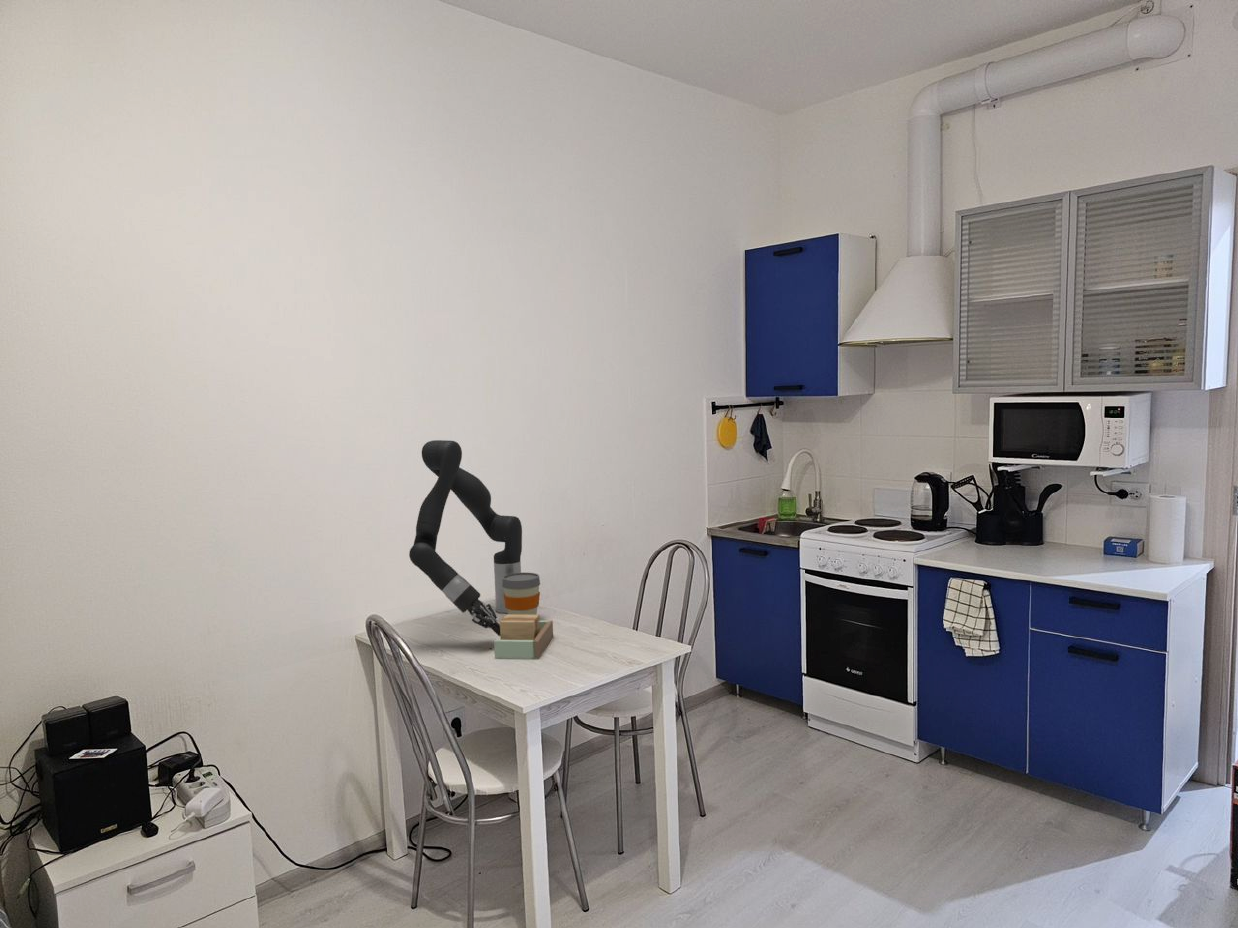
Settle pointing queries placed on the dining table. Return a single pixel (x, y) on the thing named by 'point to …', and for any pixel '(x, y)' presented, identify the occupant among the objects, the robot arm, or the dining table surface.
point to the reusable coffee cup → (521, 593)
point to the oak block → (519, 627)
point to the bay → (525, 644)
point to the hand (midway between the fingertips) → (502, 633)
